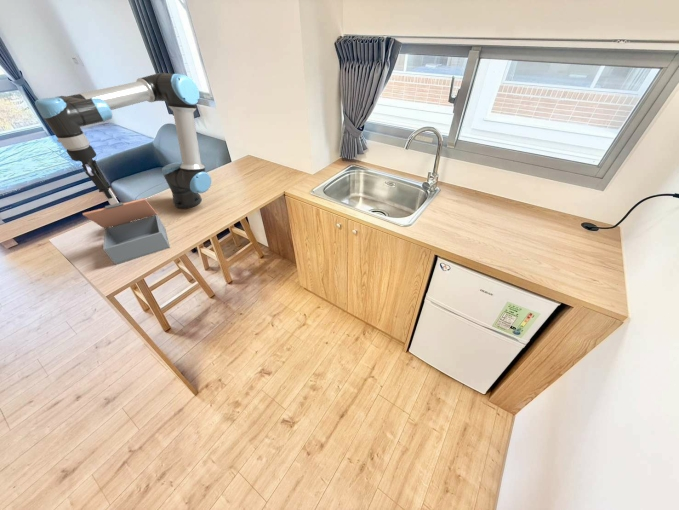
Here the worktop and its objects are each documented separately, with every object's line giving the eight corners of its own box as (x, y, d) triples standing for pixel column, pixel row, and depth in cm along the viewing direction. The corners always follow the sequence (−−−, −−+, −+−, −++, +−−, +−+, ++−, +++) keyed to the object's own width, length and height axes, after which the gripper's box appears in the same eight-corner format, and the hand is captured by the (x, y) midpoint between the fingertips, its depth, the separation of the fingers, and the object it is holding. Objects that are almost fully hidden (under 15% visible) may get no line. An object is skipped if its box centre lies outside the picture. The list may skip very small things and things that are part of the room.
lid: (104, 228, 122) (103, 226, 122) (157, 214, 131) (156, 212, 131) (81, 214, 105) (80, 212, 105) (144, 199, 114) (143, 197, 114)
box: (115, 243, 128) (104, 228, 122) (165, 229, 137) (157, 214, 131) (115, 265, 117) (103, 249, 111) (169, 247, 126) (161, 232, 120)
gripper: (67, 144, 99) (104, 199, 114) (62, 154, 90) (103, 213, 106) (91, 140, 102) (124, 195, 117) (89, 150, 94) (125, 208, 109)
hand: (114, 203), depth 112 cm, fingers closed
